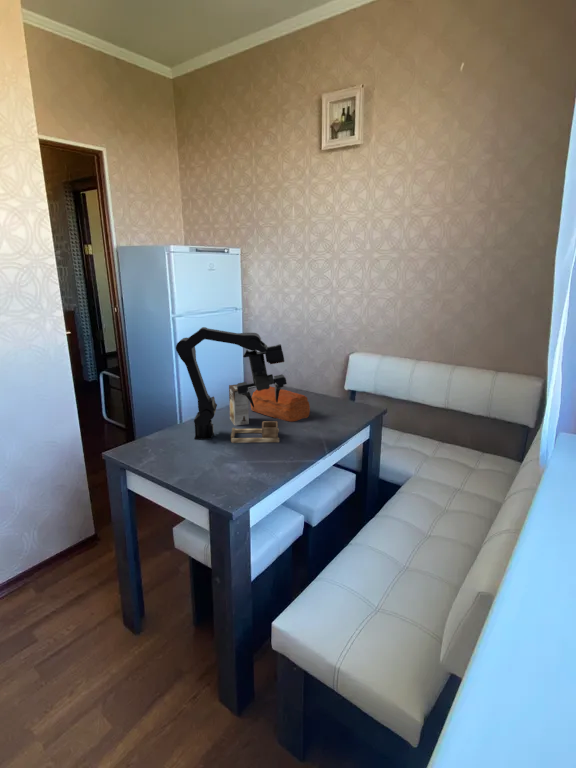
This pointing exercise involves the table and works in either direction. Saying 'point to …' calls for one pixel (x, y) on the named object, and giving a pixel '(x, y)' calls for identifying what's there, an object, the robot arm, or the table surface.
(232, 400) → the coffee box
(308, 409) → the bread
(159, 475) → the table surface
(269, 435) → the crate
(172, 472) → the table surface
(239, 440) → the beige cubby shelf
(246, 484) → the table surface
